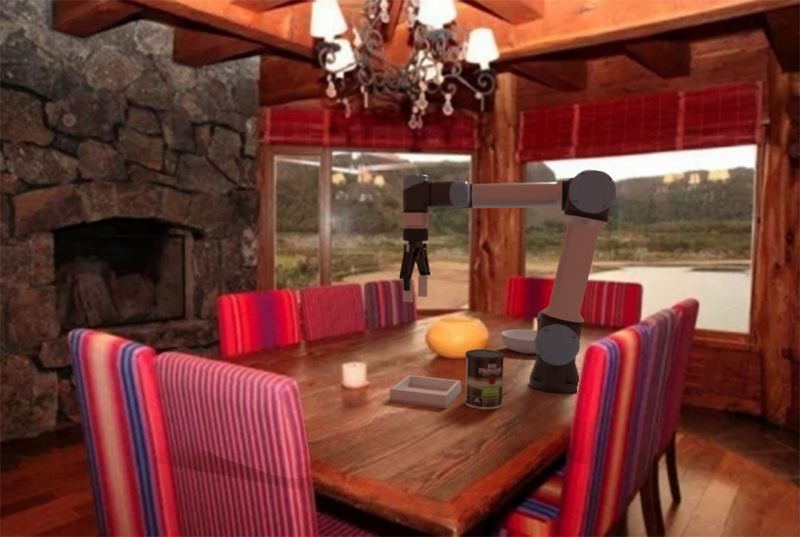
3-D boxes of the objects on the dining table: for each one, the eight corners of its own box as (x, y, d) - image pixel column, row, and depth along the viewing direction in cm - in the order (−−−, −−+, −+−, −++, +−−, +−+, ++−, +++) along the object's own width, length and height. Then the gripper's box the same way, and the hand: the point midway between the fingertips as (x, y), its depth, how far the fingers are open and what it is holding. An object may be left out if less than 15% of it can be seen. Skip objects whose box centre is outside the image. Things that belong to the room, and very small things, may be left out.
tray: (460, 392, 169) (460, 380, 169) (446, 408, 154) (446, 395, 154) (408, 386, 175) (408, 375, 174) (389, 401, 160) (389, 388, 159)
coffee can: (509, 408, 156) (510, 356, 155) (473, 411, 153) (474, 358, 152) (492, 397, 165) (493, 348, 164) (458, 399, 163) (459, 349, 162)
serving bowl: (496, 355, 220) (497, 337, 220) (505, 344, 240) (505, 328, 240) (553, 360, 214) (554, 341, 213) (557, 348, 233) (558, 331, 233)
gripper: (417, 227, 185) (417, 294, 186) (388, 227, 162) (388, 303, 163) (440, 227, 182) (439, 295, 184) (413, 227, 159) (413, 304, 161)
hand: (415, 299), depth 173 cm, fingers open, 13 cm apart
